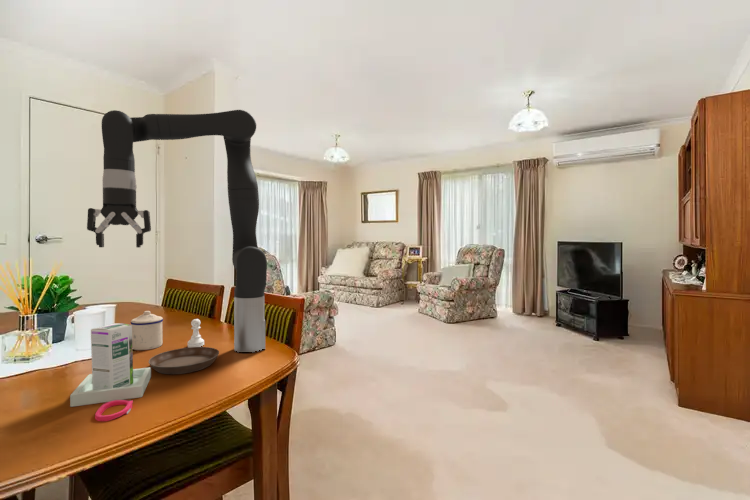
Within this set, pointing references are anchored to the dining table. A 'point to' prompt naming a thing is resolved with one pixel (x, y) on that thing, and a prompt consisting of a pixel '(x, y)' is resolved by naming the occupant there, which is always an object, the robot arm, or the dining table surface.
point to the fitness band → (109, 417)
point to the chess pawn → (195, 335)
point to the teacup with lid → (146, 331)
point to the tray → (110, 390)
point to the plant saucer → (184, 360)
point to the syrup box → (112, 356)
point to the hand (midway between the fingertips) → (120, 247)
